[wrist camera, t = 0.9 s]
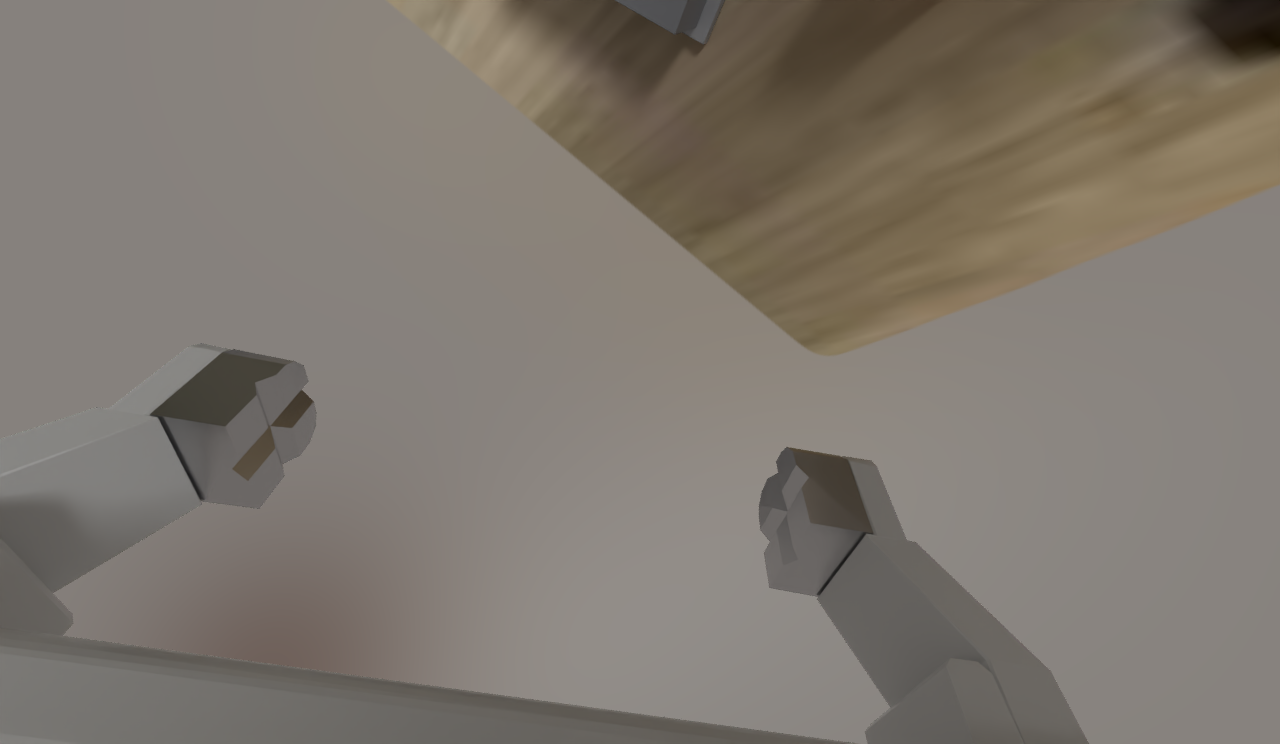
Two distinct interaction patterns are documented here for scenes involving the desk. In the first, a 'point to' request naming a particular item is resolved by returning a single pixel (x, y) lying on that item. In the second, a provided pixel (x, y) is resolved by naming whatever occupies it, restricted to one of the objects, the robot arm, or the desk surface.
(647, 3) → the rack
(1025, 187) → the desk surface
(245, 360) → the robot arm
